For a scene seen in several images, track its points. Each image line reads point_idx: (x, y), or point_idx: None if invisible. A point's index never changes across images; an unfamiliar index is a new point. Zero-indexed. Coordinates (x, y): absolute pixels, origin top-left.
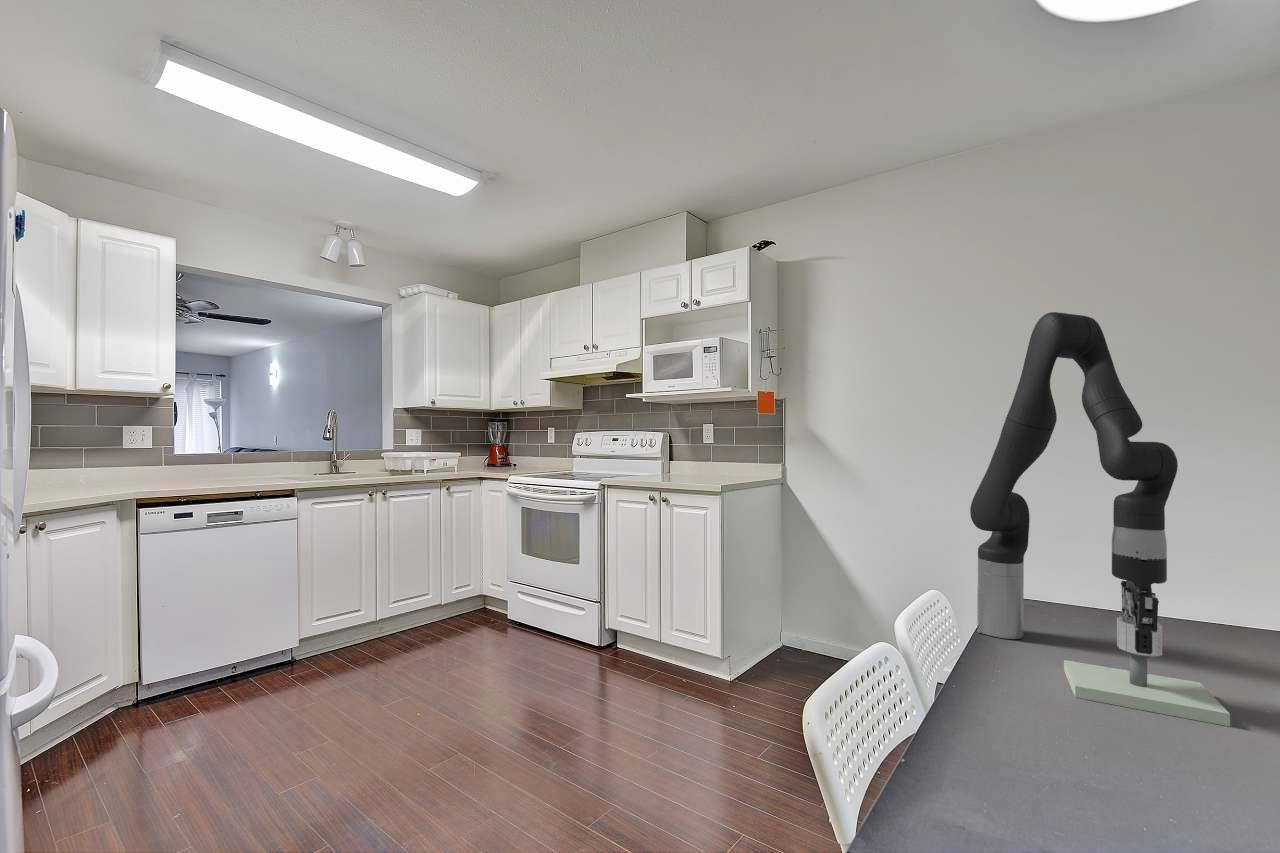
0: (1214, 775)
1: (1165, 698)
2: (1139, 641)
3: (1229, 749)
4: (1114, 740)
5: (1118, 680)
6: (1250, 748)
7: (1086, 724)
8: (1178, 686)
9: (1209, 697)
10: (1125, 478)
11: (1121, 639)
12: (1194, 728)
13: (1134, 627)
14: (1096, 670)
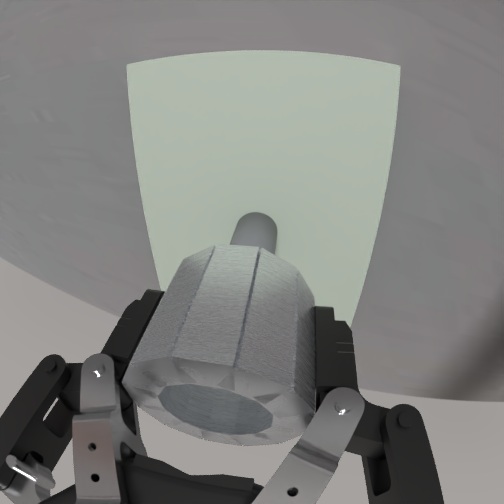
0: (11, 233)
1: (179, 260)
2: (125, 325)
3: (90, 278)
4: (10, 138)
5: (258, 186)
6: (115, 303)
7: (32, 97)
8: None
9: None
10: None
11: (189, 279)
12: (135, 262)
13: (89, 361)
14: (332, 143)
